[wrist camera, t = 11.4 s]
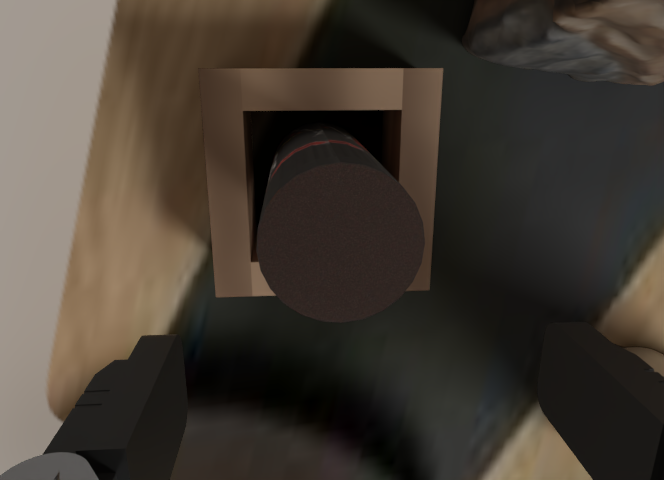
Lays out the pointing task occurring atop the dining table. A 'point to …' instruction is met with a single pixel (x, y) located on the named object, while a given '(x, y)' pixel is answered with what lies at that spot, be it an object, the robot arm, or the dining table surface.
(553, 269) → the dining table surface
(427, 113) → the socket block
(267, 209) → the deodorant
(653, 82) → the owl
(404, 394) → the dining table surface
